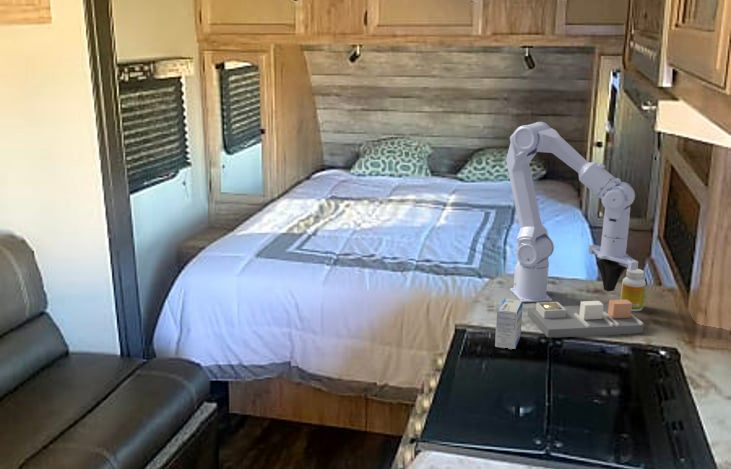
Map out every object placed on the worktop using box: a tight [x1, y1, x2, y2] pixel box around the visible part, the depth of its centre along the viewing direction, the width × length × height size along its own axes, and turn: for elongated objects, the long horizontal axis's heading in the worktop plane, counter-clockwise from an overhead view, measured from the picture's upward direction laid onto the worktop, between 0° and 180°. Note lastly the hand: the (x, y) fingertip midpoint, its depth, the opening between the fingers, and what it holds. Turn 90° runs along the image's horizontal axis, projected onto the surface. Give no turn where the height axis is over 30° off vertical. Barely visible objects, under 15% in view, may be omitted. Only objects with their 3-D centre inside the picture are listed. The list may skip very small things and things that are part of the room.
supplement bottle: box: [619, 268, 647, 312], centre depth 182 cm, size 5×5×10 cm
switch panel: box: [527, 301, 644, 339], centre depth 172 cm, size 13×22×4 cm, turn 98°
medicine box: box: [494, 298, 524, 350], centre depth 161 cm, size 8×4×9 cm, turn 160°
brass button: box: [543, 301, 559, 310], centre depth 173 cm, size 4×4×2 cm
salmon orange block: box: [608, 299, 633, 318], centre depth 172 cm, size 2×4×4 cm, turn 98°
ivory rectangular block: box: [579, 300, 604, 320], centre depth 171 cm, size 2×4×4 cm, turn 98°
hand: (609, 290), depth 177 cm, fingers closed
